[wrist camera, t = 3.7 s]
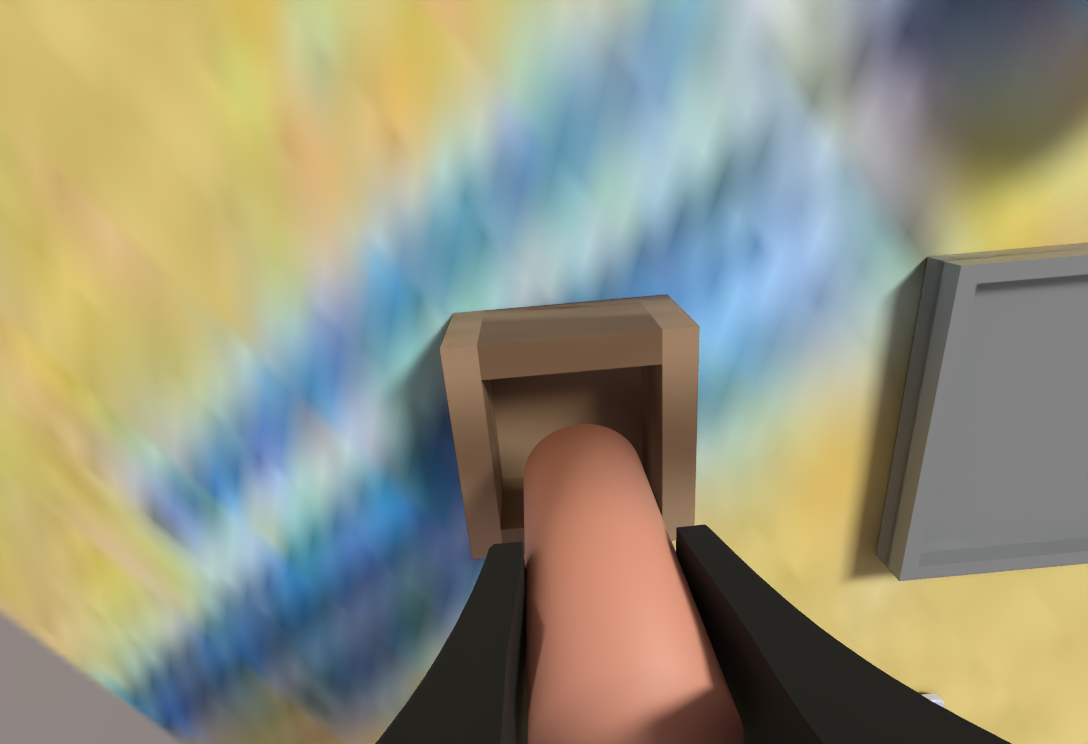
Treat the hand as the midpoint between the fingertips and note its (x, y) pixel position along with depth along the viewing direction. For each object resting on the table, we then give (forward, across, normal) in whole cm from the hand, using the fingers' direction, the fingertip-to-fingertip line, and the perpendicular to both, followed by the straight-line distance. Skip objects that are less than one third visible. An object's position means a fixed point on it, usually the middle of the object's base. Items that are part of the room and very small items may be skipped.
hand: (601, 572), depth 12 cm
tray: (+9, -18, +2) cm, 20 cm away
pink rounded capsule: (+4, 0, 0) cm, 4 cm away
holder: (+8, 0, 0) cm, 9 cm away
